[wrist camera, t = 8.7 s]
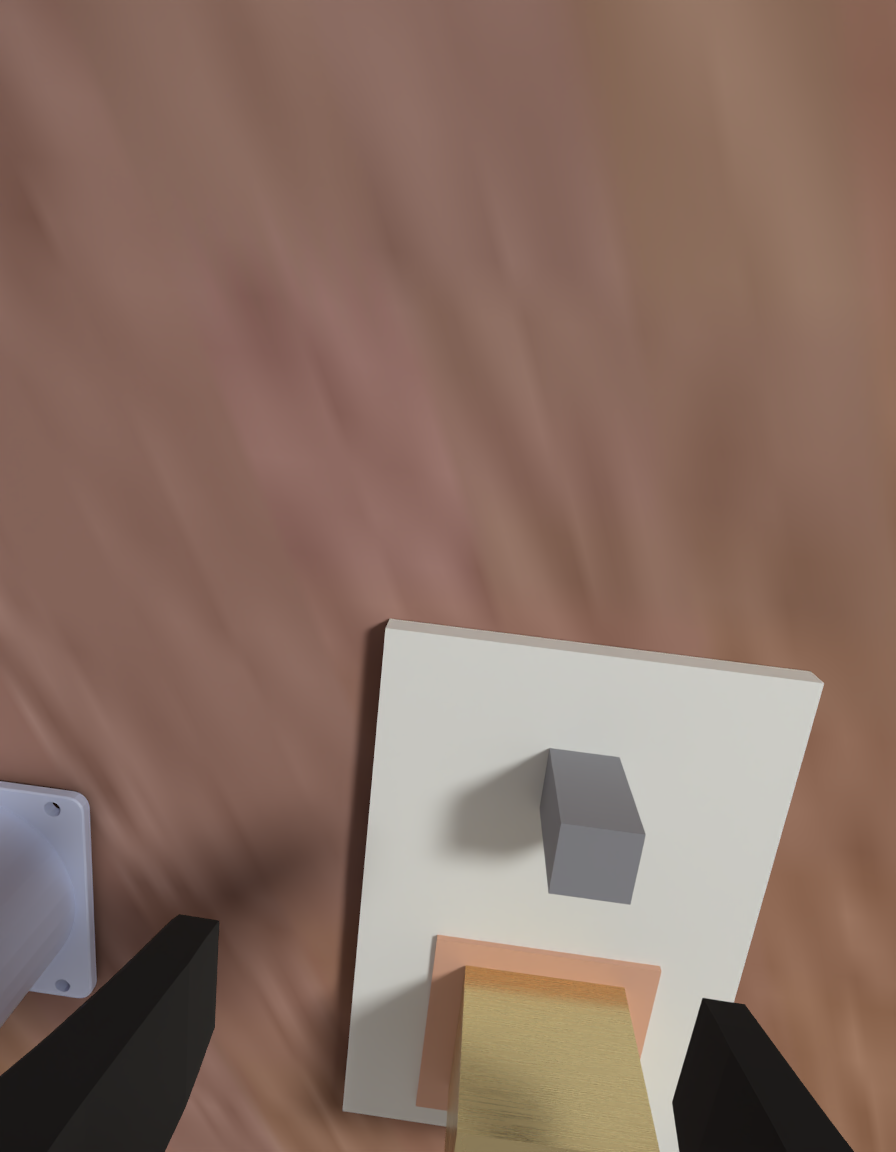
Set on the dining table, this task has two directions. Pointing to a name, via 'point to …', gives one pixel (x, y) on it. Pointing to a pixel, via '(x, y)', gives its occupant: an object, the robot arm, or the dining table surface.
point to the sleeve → (545, 1068)
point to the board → (498, 840)
